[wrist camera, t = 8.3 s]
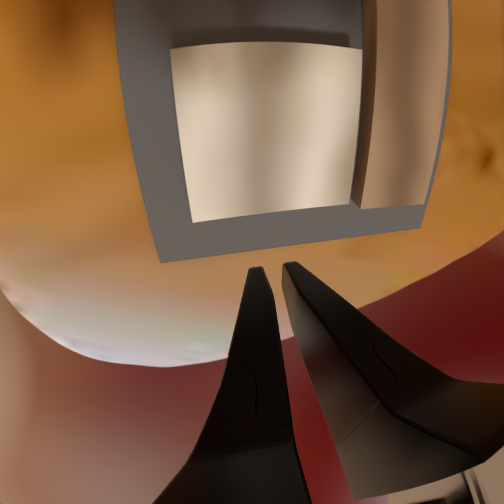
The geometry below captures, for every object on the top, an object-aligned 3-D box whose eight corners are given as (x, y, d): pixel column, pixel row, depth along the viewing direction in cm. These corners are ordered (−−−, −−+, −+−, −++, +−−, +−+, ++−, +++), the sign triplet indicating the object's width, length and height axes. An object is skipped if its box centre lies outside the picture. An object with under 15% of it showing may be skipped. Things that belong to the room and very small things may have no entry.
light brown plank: (420, -84, 5) (432, -88, 4) (413, 194, 20) (423, 204, 19) (348, -113, 4) (358, -120, 3) (350, 198, 20) (360, 209, 19)
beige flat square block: (349, 49, 13) (362, 50, 12) (339, 193, 19) (348, 203, 18) (172, 50, 12) (169, 49, 11) (192, 210, 18) (192, 222, 17)
